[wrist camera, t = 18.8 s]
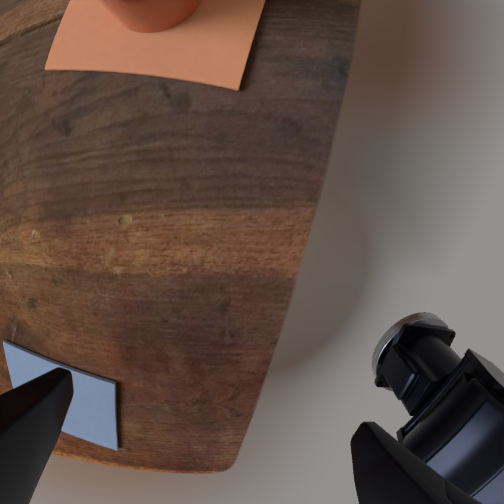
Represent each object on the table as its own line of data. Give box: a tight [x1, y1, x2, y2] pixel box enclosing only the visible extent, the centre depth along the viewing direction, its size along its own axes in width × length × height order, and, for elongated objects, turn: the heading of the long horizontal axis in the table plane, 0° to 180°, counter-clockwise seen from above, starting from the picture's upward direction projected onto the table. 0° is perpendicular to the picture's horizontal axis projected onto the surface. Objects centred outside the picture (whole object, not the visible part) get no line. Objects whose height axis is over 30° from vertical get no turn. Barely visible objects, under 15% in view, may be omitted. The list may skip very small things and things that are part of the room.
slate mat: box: [3, 340, 118, 450], centre depth 23 cm, size 12×10×1 cm
